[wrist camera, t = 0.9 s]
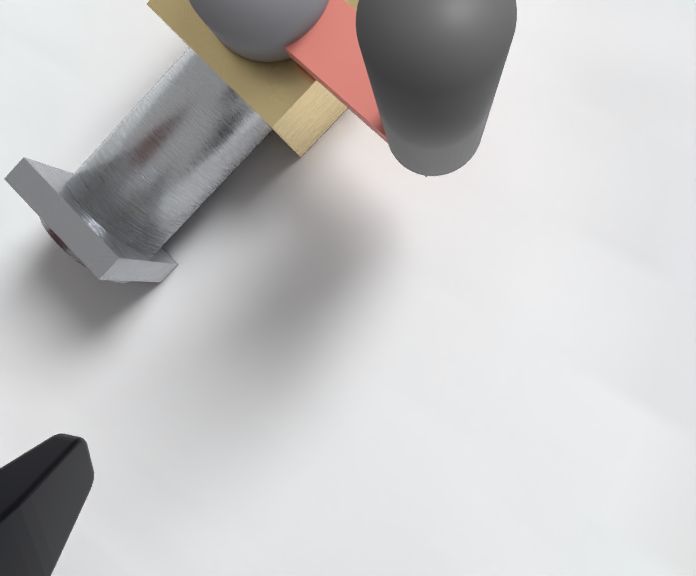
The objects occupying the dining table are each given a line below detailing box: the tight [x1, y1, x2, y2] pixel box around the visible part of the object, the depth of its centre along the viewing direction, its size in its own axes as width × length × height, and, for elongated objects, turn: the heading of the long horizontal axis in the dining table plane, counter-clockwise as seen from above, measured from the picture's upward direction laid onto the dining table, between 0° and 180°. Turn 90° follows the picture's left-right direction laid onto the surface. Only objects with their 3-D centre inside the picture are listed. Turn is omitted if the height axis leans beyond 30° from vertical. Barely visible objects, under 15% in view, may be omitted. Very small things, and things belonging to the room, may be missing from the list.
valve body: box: [5, 0, 359, 283], centre depth 22 cm, size 22×6×5 cm, turn 135°
